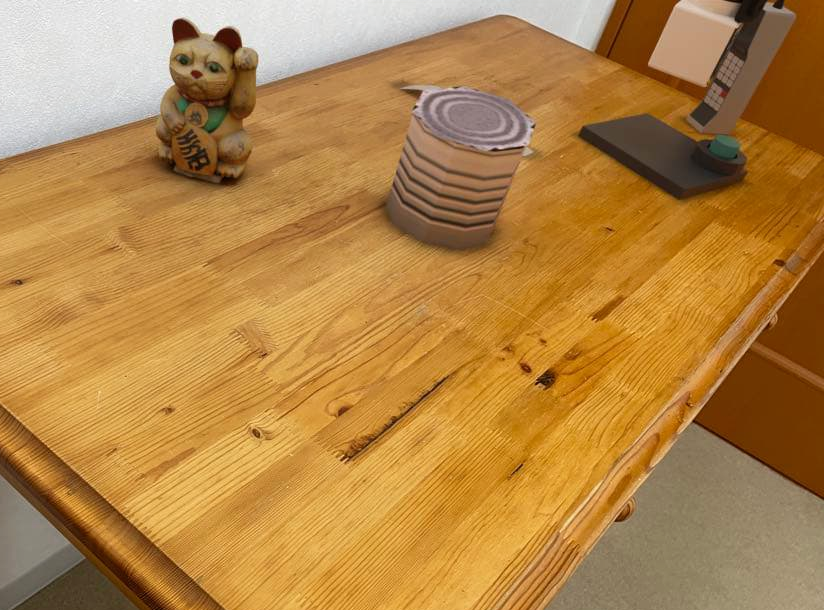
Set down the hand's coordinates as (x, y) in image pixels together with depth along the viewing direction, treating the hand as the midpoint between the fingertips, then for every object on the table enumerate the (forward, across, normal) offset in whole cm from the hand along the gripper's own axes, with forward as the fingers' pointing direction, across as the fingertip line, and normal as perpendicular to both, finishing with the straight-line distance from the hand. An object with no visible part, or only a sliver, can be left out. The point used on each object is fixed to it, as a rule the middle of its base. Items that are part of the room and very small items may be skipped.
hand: (714, 6), depth 96 cm
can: (+19, -3, +38) cm, 43 cm away
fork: (+19, +14, +18) cm, 30 cm away
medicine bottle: (+8, 0, 0) cm, 8 cm away
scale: (+18, -2, -2) cm, 19 cm away
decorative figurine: (+19, +14, +56) cm, 61 cm away
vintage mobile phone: (+19, +2, -19) cm, 26 cm away
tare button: (+15, -7, -6) cm, 18 cm away
